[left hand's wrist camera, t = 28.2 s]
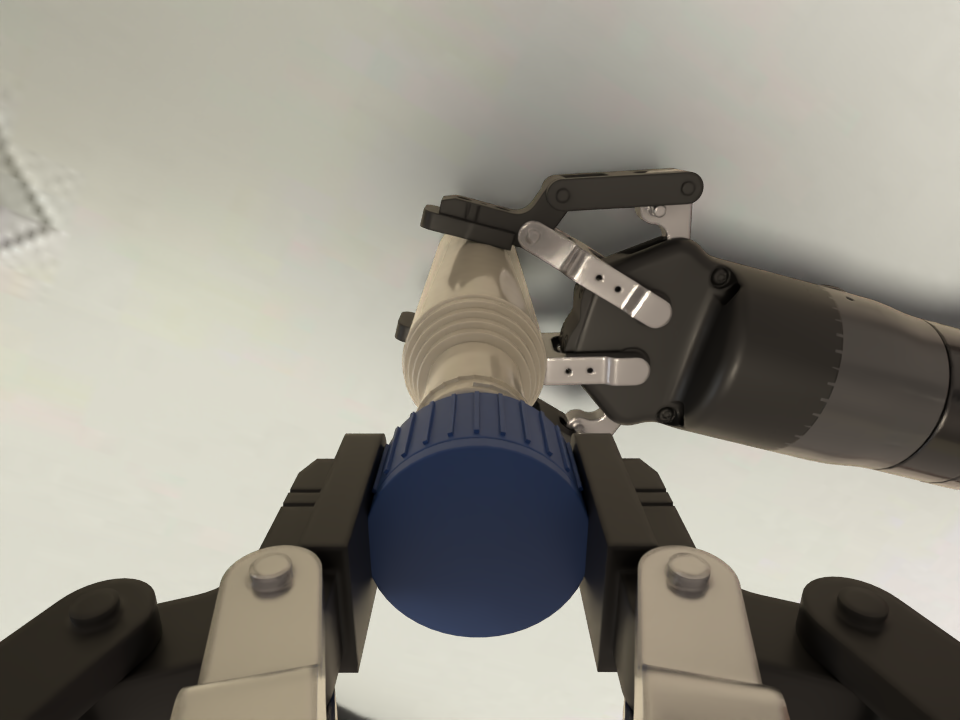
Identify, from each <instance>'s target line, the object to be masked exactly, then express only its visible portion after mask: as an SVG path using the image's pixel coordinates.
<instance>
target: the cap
mask: <svg viewBox="0 0 960 720" xmlns="http://www.w3.org/2000/svg"><path fill="white" fill-rule="evenodd" d="M583 490H584V489H583V486H582V482H581V479H580V475H579V472H578V468H577V465H576V461H575V458H574V454H573V451H572V447H571V444H570V442H568V443H567V442H566V441H565V439H564V437H563V436H562V434H561V431H560V427H559V426H558V425H556V426H555V425H554V424H553V423H552V422H551V421H550V420H549V419H548V418H547V417H546V416H545V415H544V412H543V411H540V412H539V411H538V410H536V409H535V408H534V407H532V406H530V405H528V404H526V403H525V401H523V400H520V401H519V400H517V399H514V398H512V397H508V396H504V395H503V394H501V393H498V394H494V393H485V392H479V391H475V392H471V393H463V394H456V393H455V394H451V396H448V397H445V398H442V399H440V400H437V401H434V400H433V401H431V402H430V403H429V405H427V406H425V407H423V408H421V409H420V410H419V411H417V412H416V413H415V412H413V413H411V414H410V418H409V419H408V420H406V421H405V422H404V423H403V424H402V426H401V427H397V428H396V429H395V433H394V436H393V438H392V440H391V442H390V444H389V445H388V444H386V445H385V448H384V451H383V454H382V458H381V461H380V464H379V468H378V471H377V475H376V478H375V481H374V485H373V488H372V491H371V492H372V493H374V495H373V499H372V502H371V506H370V509H369V513H368V531H369V545H370V559H371V573H372V578H373V580H374V582H375V583H376V585H377V587H378V589H379V590H380V591H381V593H382V594H383V595H384V596H385V598H386V599H387V600H388V601H389V602H390V603H391V604H392V605H393V606H394V607H395V608H396V609H398V610H399V611H400V612H401V613H403V614H404V615H405V616H407V617H408V618H410V619H412V620H414V621H415V622H417V623H419V624H421V625H423V626H425V627H428V628H430V629H433V630H436V631H439V632H442V633H446V634H451V635H455V636H463V637H493V636H501V635H506V634H510V633H514V632H517V631H520V630H523V629H526V628H529V627H531V626H533V625H535V624H537V623H539V622H541V621H543V620H544V619H546V618H548V617H549V616H551V615H552V614H553V613H555V612H556V611H557V610H559V609H560V608H561V607H562V606H563V605H564V604H565V603H566V602H567V601H568V600H569V599H570V598H571V596H572V595H573V594H574V593H575V591H576V590H577V589H578V587H579V585H580V583H581V582H582V580H583V578H584V576H585V565H586V551H587V536H588V520H589V518H588V513H587V509H586V506H585V502H584V498H583V495H582V491H583Z"/></svg>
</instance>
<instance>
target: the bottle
mask: <svg viewBox="0 0 960 720" xmlns="http://www.w3.org/2000/svg"><path fill="white" fill-rule="evenodd" d="M402 367H403V374H404V379H405V383H406V387H407V389H408V392H409V394H410V396H411V398H412V400H413V401H414V403H415V404H416V406H417V407H418V408H417V411H419V410H420V409H421V408H423V407H425V406H427V405H429V403H430V402H431V401H433V400H434V401H437V400H440V399H442V398H445V397H448V396H451V394H455V393H456V394H463V393H471V392H475V391H479V392H485V393H494V394H498V393H501V394H503V395H504V396H508V397H512V398H514V399H517V400H519V401H520V400H523V401H525V403H526V404H528V405H530V406H533V404H534V403H535V402H536V400H537V398H538V396H539V394H540V392H541V390H542V387H543V383H544V380H545V375H546V369H547V354H546V348H545V344H544V341H543V338H542V334H541V331H540V328H539V325H538V321H537V318H536V315H535V311H534V308H533V305H532V301H531V298H530V295H529V292H528V288H527V285H526V282H525V278H524V275H523V272H522V269H521V265H520V262H519V259H518V255H517V252H516V249H515V246H514V245H512V248H511V251H509V250H505V249H501V248H497V247H494V246H491V245H487V244H482V243H478V242H475V241H471V240H467V239H463V238H459V237H455V236H452V235H448V234H444V236H443V237H442V239H441V241H440V243H439V246H438V248H437V251H436V254H435V257H434V260H433V263H432V266H431V269H430V272H429V275H428V277H427V280H426V283H425V286H424V289H423V292H422V295H421V298H420V301H419V304H418V306H417V309H416V312H415V315H414V318H413V321H412V324H411V327H410V330H409V333H408V335H407V338H406V342H405V345H404V349H403V355H402ZM417 411H416V412H417Z"/></svg>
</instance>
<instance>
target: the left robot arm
mask: <svg viewBox="0 0 960 720" xmlns="http://www.w3.org/2000/svg"><path fill="white" fill-rule="evenodd" d="M570 444H571V447H572V451H573V454H574V458H575V461H576V465H577V468H578V472H579V475H580V479H581V482H582V486H583V489H584V490H583V491H582V495H583V498H584V502H585V506H586V509H587V513H588V518H589V520H588V536H587V551H586V565H585V576H584V578H583V580H582V582H581V583H580V585H579V587H580V591H581V596H582V601H583V605H584V610H585V615H586V619H587V624H588V629H589V633H590V638H591V643H592V648H593V652H594V657H595V662H596V666H597V671H598V672H617V673H618V677H619V681H620V685H621V689H622V692H623V695H624V705H623V720H960V642H959V641H958V640H956V639H955V638H953V637H952V636H951V635H949V634H948V633H946V632H945V631H943V630H942V629H941V628H939V627H938V626H936V625H935V624H933V623H932V622H931V621H929V620H928V619H926V618H925V617H924V616H922V615H921V614H919V613H918V612H916V611H915V610H914V609H912V608H911V607H909V606H908V605H906V604H905V603H904V602H902V601H901V600H899V599H898V598H896V597H895V596H893V595H892V594H890V593H888V592H886V591H884V590H882V589H881V588H878V587H876V586H874V585H871V584H868V583H865V582H862V581H859V580H855V579H851V578H844V577H823V578H819V579H816V580H813V581H811V582H810V583H808V584H807V585H806V587H805V588H804V590H803V593H802V598H801V602H800V603H795V602H791V601H786V600H782V599H777V598H772V597H768V596H763V595H759V594H755V593H752V592H748V591H746V590H743V589H741V586H740V582H739V580H738V577H737V575H736V574H735V572H734V571H733V570H732V569H731V568H730V566H728V565H727V564H726V563H725V562H724V561H722V560H721V559H719V558H718V557H716V556H714V555H712V554H710V553H708V552H705V551H703V550H700V549H696V547H695V545H694V543H693V541H692V539H691V537H690V535H689V533H688V531H687V529H686V527H685V525H684V523H683V522H682V520H681V518H680V516H679V514H678V512H677V510H676V508H675V506H673V502H672V500H671V498H670V496H669V494H668V492H666V488H665V486H664V484H663V482H662V480H661V478H660V476H659V474H658V473H657V472H656V471H655V470H654V469H652V468H651V467H650V466H648V465H647V464H646V463H645V462H643V461H642V460H641V459H640V458H622V457H621V455H620V453H619V450H618V448H617V446H616V443H615V441H614V439H613V436H612V434H611V433H573V434H572V436H571V442H570ZM385 445H386V437H385V434H345V436H344V438H343V440H342V443H341V445H340V447H339V450H338V452H337V454H336V456H335V459H316V460H315V461H314V462H312V463H311V464H310V465H309V466H307V467H306V468H305V469H303V470H302V471H301V472H299V474H298V476H297V477H296V479H295V481H294V483H293V485H292V487H291V489H290V493H288V495H287V497H286V499H285V501H284V503H283V507H281V508H280V510H279V512H278V514H277V516H276V518H275V520H274V522H273V524H272V526H271V528H270V530H269V532H268V533H267V535H266V537H265V539H264V541H263V543H262V545H261V547H260V549H259V550H257V551H255V552H252V553H250V554H248V555H246V556H244V557H242V558H241V559H239V560H238V561H236V562H235V563H234V564H233V565H232V566H230V568H229V569H228V570H227V571H226V572H225V574H224V575H223V577H222V580H221V582H220V586H219V588H216V589H214V590H211V591H209V592H206V593H202V594H199V595H195V596H190V597H186V598H181V599H177V600H172V601H168V602H163V603H159V604H157V601H156V596H155V593H154V590H153V589H152V587H151V586H150V585H148V584H147V583H145V582H143V581H140V580H136V579H128V578H122V579H112V580H106V581H102V582H97V583H94V584H91V585H88V586H86V587H83V588H81V589H79V590H76V591H75V592H73V593H71V594H69V595H67V596H66V597H64V598H62V599H61V600H59V601H58V602H56V603H55V604H54V605H52V606H51V607H49V608H48V609H46V610H45V611H44V612H42V613H41V614H39V615H38V616H36V617H35V618H34V619H32V620H31V621H29V622H28V623H26V624H25V625H24V626H22V627H21V628H19V629H18V630H17V631H15V632H14V633H12V634H11V635H9V636H8V637H7V638H5V639H4V640H2V641H1V642H0V720H337V705H336V696H335V683H336V679H337V676H338V673H358V671H359V666H360V662H361V657H362V653H363V648H364V644H365V639H366V635H367V630H368V626H369V621H370V617H371V612H372V608H373V603H374V599H375V594H376V589H377V585H376V583H375V582H374V580H373V578H372V573H371V559H370V545H369V531H368V513H369V509H370V506H371V502H372V499H373V495H374V493H372V492H371V491H372V488H373V485H374V481H375V478H376V475H377V471H378V468H379V464H380V461H381V458H382V454H383V451H384V448H385Z"/></svg>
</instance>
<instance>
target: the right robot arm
mask: <svg viewBox="0 0 960 720" xmlns="http://www.w3.org/2000/svg"><path fill="white" fill-rule="evenodd" d="M702 192H703V181H702V179H701V177H700V176H699V175H698V174H696V173H693V172H689V171H684V170H679V169H674V168H665V169H648V170H630V171H613V172H595V173H578V174H561V175H552V176H550V177H548V178H547V179H546V180H545V181H544V182H543V184H542V188H541V189H540V190H539V192H538V193H537V195H536V196H535V198H534V199H533V200H532V202H531V203H530V204H529V205H528V206H526V207H525V208H523V209H519V210H513V209H509V208H505V207H501V206H497V205H494V204H490V203H486V202H482V201H479V200H475V199H471V198H467V197H464V196H460V195H450V196H444V197H443V198H442V201H441V205H440V207H439V206H435V205H426V206H425V208H424V211H423V215H422V220H421V224H420V226H421V227H423V228H426V229H429V230H432V231H436V232H440V233H444V234H448V235H452V236H455V237H459V238H463V239H467V240H471V241H475V242H478V243H482V244H487V245H491V246H494V247H497V248H501V249H505V250H509V251H511V248H512V245H514V246H518V247H522V248H523V249H525V250H526V251H528V252H530V253H531V254H533V255H535V256H536V257H538V258H540V259H541V260H543V261H545V262H546V263H548V264H550V265H551V266H553V267H555V268H556V269H558V270H559V271H561V272H562V273H564V274H565V275H566V276H567V277H569V278H570V279H572V280H573V281H575V282H576V285H575V288H574V299H573V309H572V310H571V312H570V313H569V315H568V317H567V318H566V320H565V321H564V323H563V326H562V329H561V332H556V333H541V334H542V338H543V341H544V344H545V348H546V354H547V369H546V375H545V380H544V383H543V385H575V384H580V385H581V386H582V387H583V388H584V390H585V391H586V392H587V393H588V394H589V396H590V397H591V398H592V399H593V400H594V402H595V403H596V404H597V405H598V406H599V409H598V410H596V411H593V412H585V411H582V410H579V409H574V410H570V411H569V412H567V413H566V414H564V413H563V412H561V411H559V410H558V409H556V408H554V407H553V406H551V405H549V404H547V403H546V402H544V401H542V400H541V399H539V398H537V400H536V402H535V403H534V404H533V406H532V407H534V408H535V409H536V410H538V411H539V412H540V411H543V412H544V415H545V416H546V417H547V418H548V419H549V420H550V421H551V422H552V423H553V424H554V425H555V426H556V425H558V426H559V427H560V431H561V434H562V436H563V437H564V439H565V441H566V442H567V443H568V442H571V436H572V434H573V433H611V434H612V435H613V434H614V433H615V431H616V430H617V429H618V427H619V426H620V425H634V424H638V423H643V422H658V423H662V424H665V425H668V426H671V427H674V428H677V429H681V430H685V431H690V432H694V433H698V434H702V435H706V436H710V437H714V438H719V439H723V440H727V441H731V442H735V443H739V444H744V445H748V446H752V447H756V448H760V449H764V450H769V451H773V452H777V453H781V454H785V455H789V456H794V457H798V458H802V459H806V460H811V461H816V462H821V463H826V464H834V465H846V466H856V467H863V468H868V469H873V470H877V471H881V472H885V473H890V474H894V475H898V476H902V477H906V478H910V479H914V480H919V481H921V482H925V483H929V484H933V485H938V486H942V487H947V488H951V489H957V490H960V329H958V328H954V327H950V326H947V325H943V324H939V323H935V322H932V321H928V320H924V319H920V318H917V317H914V316H911V315H908V314H905V313H903V312H900V311H898V310H896V309H894V308H892V307H889V306H887V305H885V304H882V303H880V302H877V301H874V300H871V299H868V298H865V297H861V296H857V295H854V294H850V293H847V292H845V291H844V290H841V289H840V288H838V287H834V286H830V285H817V284H813V283H809V282H806V281H802V280H798V279H794V278H790V277H787V276H783V275H779V274H775V273H772V272H768V271H764V270H761V269H757V268H753V267H749V266H746V265H742V264H738V263H734V262H731V261H727V260H723V259H719V258H716V257H713V256H710V255H709V254H707V253H706V252H705V251H704V250H703V249H702V248H701V246H700V245H699V244H697V243H696V242H695V241H693V240H691V239H690V233H691V216H692V203H693V202H695V201H697V200H698V199H699V197H700V196H701V194H702ZM632 207H635V212H636V214H637V216H638V217H639V218H640V219H642V220H644V221H645V222H647V223H650V224H656V225H658V226H659V227H660V229H661V233H662V236H660V237H657V238H655V239H652V240H649V241H647V242H644V243H641V244H639V245H636V246H634V247H631V248H628V249H626V250H623V251H620V252H618V253H615V254H612V255H610V256H607V257H605V256H603V255H602V254H600V253H598V252H597V251H595V250H594V249H592V248H590V247H589V246H587V245H585V244H584V243H582V242H581V241H579V240H577V239H576V238H574V237H572V236H570V235H568V234H566V233H564V232H563V231H561V230H560V229H558V228H556V226H557V225H558V224H559V222H560V221H561V220H562V218H563V217H564V215H565V214H566V213H567V211H579V210H597V209H614V208H632ZM414 315H415V313H413V312H402V313H401V316H400V318H399V321H398V325H397V329H396V334H395V338H396V339H398V340H400V341H402V342H406V338H407V335H408V333H409V330H410V327H411V324H412V321H413V318H414ZM558 346H560V347H558ZM566 369H568V370H566Z"/></svg>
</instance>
